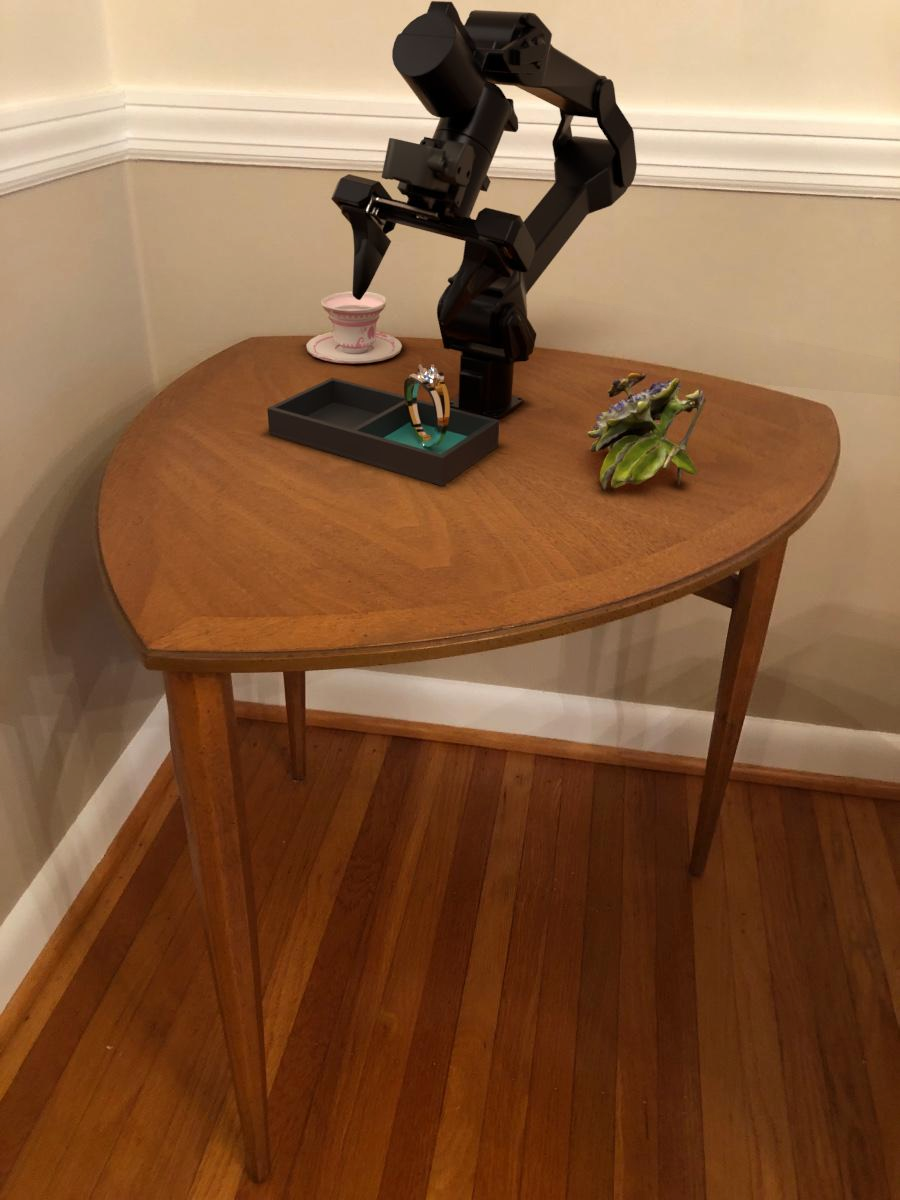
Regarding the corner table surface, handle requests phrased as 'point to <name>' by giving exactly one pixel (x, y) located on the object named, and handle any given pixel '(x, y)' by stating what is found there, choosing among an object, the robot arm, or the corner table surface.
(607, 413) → the passion flower
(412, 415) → the ring
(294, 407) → the tray
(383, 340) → the teacup
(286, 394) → the corner table surface
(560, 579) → the corner table surface
